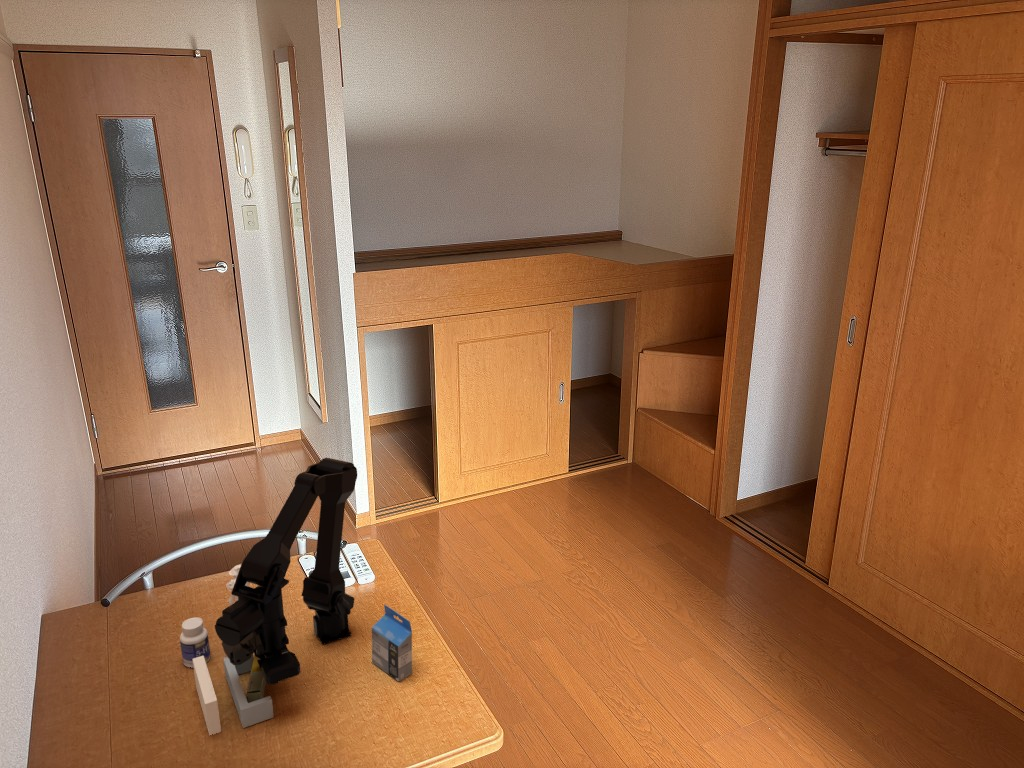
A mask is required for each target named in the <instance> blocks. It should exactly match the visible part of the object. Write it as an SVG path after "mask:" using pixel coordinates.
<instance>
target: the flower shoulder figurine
mask: <svg viewBox="0 0 1024 768" xmlns="http://www.w3.org/2000/svg"><path fill="white" fill-rule="evenodd" d="M241 564H242V563H240V564H237V565H234V567H232V568H231V569H230V570H229V572H228V574H229V575H230V576H233V578H232V577H231V578H230V579H231V580H229V581H228V582H227V583H226V584H225V585H226V590H228V591H229V593H232V590H233V587H234V584H235V581H236V578H237V576H238V573H239V570H240V567H241ZM250 584H251V583H249V582H247V583H246V584H245V586H248V587H250ZM234 601H235V602H236V601H238V596H234V595H232V594H230V597H229V598H228V601H227V602H228V603H229V605H232V604H234Z"/></svg>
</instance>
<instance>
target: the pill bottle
mask: <svg viewBox="0 0 1024 768" xmlns="http://www.w3.org/2000/svg"><path fill="white" fill-rule="evenodd" d="M181 630H182V631H181V634H179V643H180V649H181V650H180V651H181V658H182V663H183V665H184V666H185V667H187V668H190V667H191V669H192V668H193V669H194V666H193V658H197V657H200V656H204V659H205V662H206V664H207V663H208V662H209V661H210V659H211V649H210V641H209V633H208V629H206V628H205V626H204V621H203V619H202V618H201V617H191V618H187V619H186V620H184V621H183V622H182V624H181Z"/></svg>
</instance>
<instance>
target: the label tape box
mask: <svg viewBox="0 0 1024 768" xmlns="http://www.w3.org/2000/svg"><path fill="white" fill-rule="evenodd" d="M383 606H384V614H383V616H382V617H381V618H379V620H377V622H376V623H375V624H374V625H373V626H372V627H371V663H372V664H374V665H375V666H377V667H378V668H379V669H381V670H382V671H383V672H385V673H386V674H388V675H389V676H390V677H392V678H393V679H394V680H395V681H397V682H401V681H403V680H404V679H406V678H407V677H409V676H410V675H412V674H413V642H412V641H413V640H412V639H413V634H412V633H413V630H412V625H411V624H412V623H411V621H410V620H409V619H407V618H406V617H404V616H403V615H401V614H400V613H399V612H397V611H395V610H394V609H393V608H391V607H390V606H388V605H386V604H383ZM397 618H398V619H397Z"/></svg>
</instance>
